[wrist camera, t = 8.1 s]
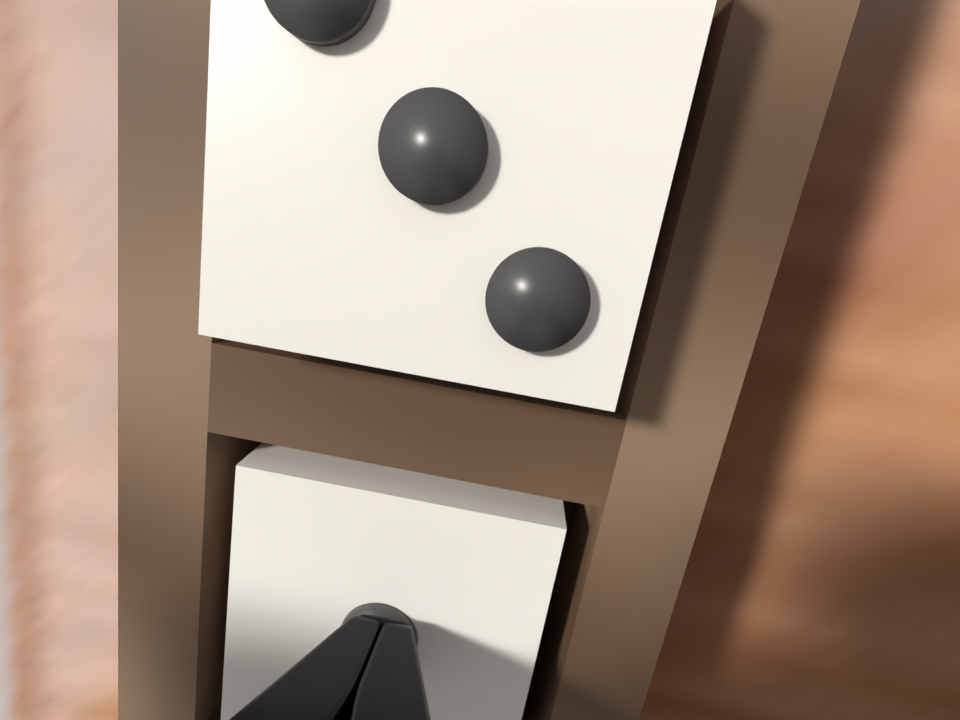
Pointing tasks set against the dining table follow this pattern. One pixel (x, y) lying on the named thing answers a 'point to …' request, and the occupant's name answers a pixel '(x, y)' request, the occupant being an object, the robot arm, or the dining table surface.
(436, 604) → the tile one
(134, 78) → the button board
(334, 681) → the robot arm
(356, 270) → the tile three
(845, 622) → the dining table surface
